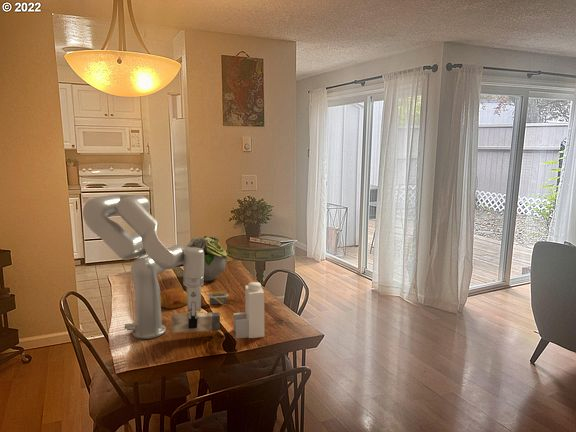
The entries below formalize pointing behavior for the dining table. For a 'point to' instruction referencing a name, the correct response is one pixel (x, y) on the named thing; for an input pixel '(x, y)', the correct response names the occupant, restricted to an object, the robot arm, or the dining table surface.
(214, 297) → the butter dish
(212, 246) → the flower arrangement
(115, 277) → the dining table surface
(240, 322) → the post
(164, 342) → the dining table surface
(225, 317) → the dining table surface
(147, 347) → the dining table surface
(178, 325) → the rail
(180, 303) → the croissant
